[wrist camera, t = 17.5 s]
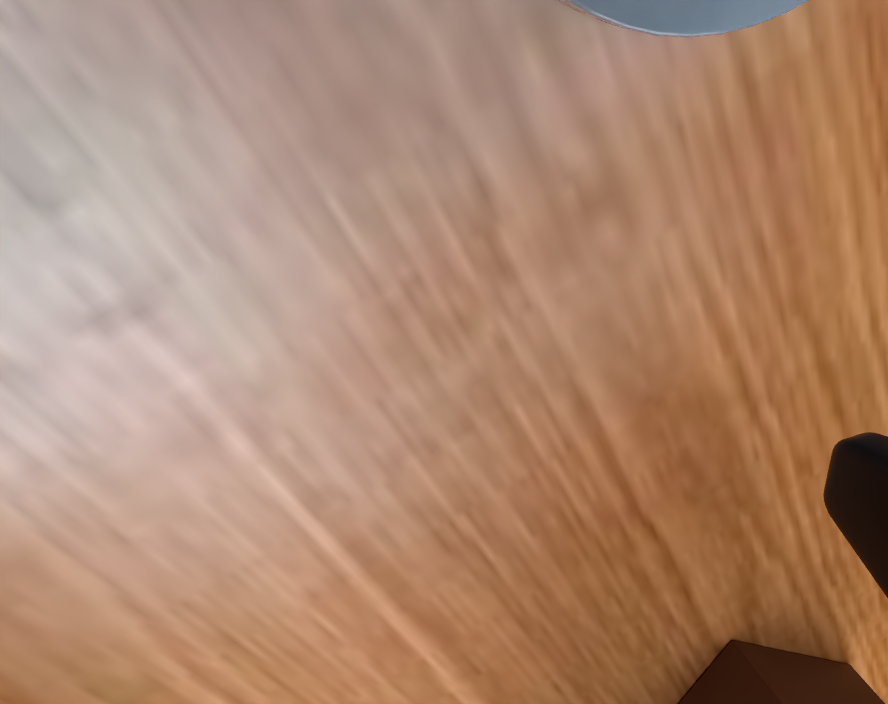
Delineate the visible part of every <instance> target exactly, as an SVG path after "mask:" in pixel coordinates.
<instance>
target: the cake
mask: <svg viewBox="0 0 888 704" xmlns="http://www.w3.org/2000/svg"><path fill="white" fill-rule="evenodd" d="M679 704H885V703H884V702H883V701H882V700H881V699H880V698H879V696H878V695H877V694H876V693H875V692H874V691H873V690H872V689H871V688H870V686H869V685H868V684H867V683H866V682H865V681H864V680H863V679H862V678H861V676H860V675H859V674H858V673H857V672H856V671H855V670H854V669H853V668H852V666H851V665H849V664H844V663H839V662H834V661H829V660H825V659H820V658H815V657H810V656H805V655H800V654H796V653H791V652H786V651H781V650H776V649H771V648H767V647H762V646H757V645H752V644H747V643H742V642H738V641H733V640H732V641H731V642H730V643H729V644H728V646H727V647H726V648H725V649H724V650H723V651H722V653H721V654H720V655H719V656H718V657H717V659H716V660H715V661H714V662H713V663H712V665H711V666H710V667H709V668H708V669H707V671H706V672H705V673H704V674H703V675H702V677H701V678H700V679H699V680H698V681H697V682H696V684H695V685H694V686H693V687H692V688H691V690H690V691H689V692H688V693H687V694H686V696H685V697H684V698H683V699H682V700H681V702H680V703H679Z"/></svg>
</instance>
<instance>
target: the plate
mask: <svg viewBox="0 0 888 704" xmlns="http://www.w3.org/2000/svg"><path fill="white" fill-rule="evenodd" d="M560 1H562V2H563V3H565V4H567V5H568V6H570V7H571V8H573V9H575V10H577V11H579V12H582V13H584V14H587V15H589V16H591V17H594V18H596V19H599V20H601V21H603V22H606V23H609V24H612V25H615V26H618V27H622V28H626V29H630V30H634V31H639V32H643V33H647V34H652V35H658V36H674V37H697V36H707V35H717V34H723V33H727V32H731V31H735V30H739V29H743V28H747V27H751V26H754V25H757V24H759V23H762V22H764V21H767V20H769V19H772V18H774V17H776V16H779V15H781V14H784V13H786V12H788V11H790V10H792V9H794V8H795V7H797V6H799V5H801V4H802V3H804V2H806V1H808V0H560Z"/></svg>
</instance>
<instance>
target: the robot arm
mask: <svg viewBox="0 0 888 704" xmlns="http://www.w3.org/2000/svg"><path fill="white" fill-rule="evenodd" d="M824 502H825V505H826V508H827V510H828V513H829V514H830V516H831V518H832V519H833V520H834V522H835V523H836V525H837V526H838V528H839V529H840V531H841V532H842V533H843V535H844V536H845V538H846V539H847V541H848V542H849V543H850V545H851V546H852V548H853V549H854V551H855V552H856V553H857V555H858V556H859V558H860V559H861V561H862V562H863V563H864V565H865V566H866V568H867V569H868V571H869V572H870V573H871V575H872V576H873V578H874V579H875V581H876V582H877V583H878V585H879V586H880V588H881V589H882V591H883V592H884V594H885V595H886V596H887V598H888V437H887V436H884V435H881V434H877V433H871V432H870V433H863V434H859V435H856V436H853V437H850V438H846V439H843V440H841V441H839V442H838V443H837V444H836V445H835V447H834V449H833V451H832V456H831V461H830V465H829V470H828V475H827V479H826V484H825V489H824Z"/></svg>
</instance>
